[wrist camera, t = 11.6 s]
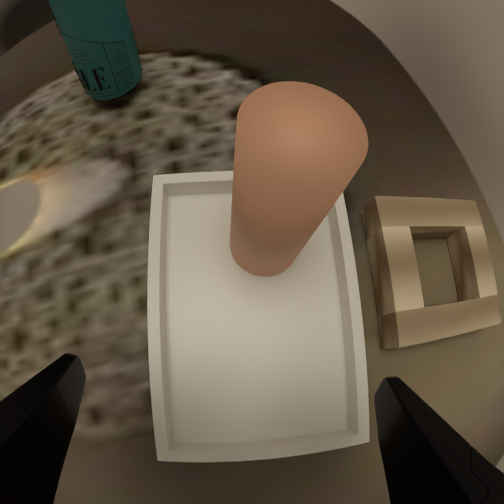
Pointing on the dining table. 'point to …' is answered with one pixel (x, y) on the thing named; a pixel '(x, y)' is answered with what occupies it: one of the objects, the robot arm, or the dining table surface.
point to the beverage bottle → (100, 45)
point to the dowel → (289, 170)
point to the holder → (407, 275)
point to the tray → (249, 335)
